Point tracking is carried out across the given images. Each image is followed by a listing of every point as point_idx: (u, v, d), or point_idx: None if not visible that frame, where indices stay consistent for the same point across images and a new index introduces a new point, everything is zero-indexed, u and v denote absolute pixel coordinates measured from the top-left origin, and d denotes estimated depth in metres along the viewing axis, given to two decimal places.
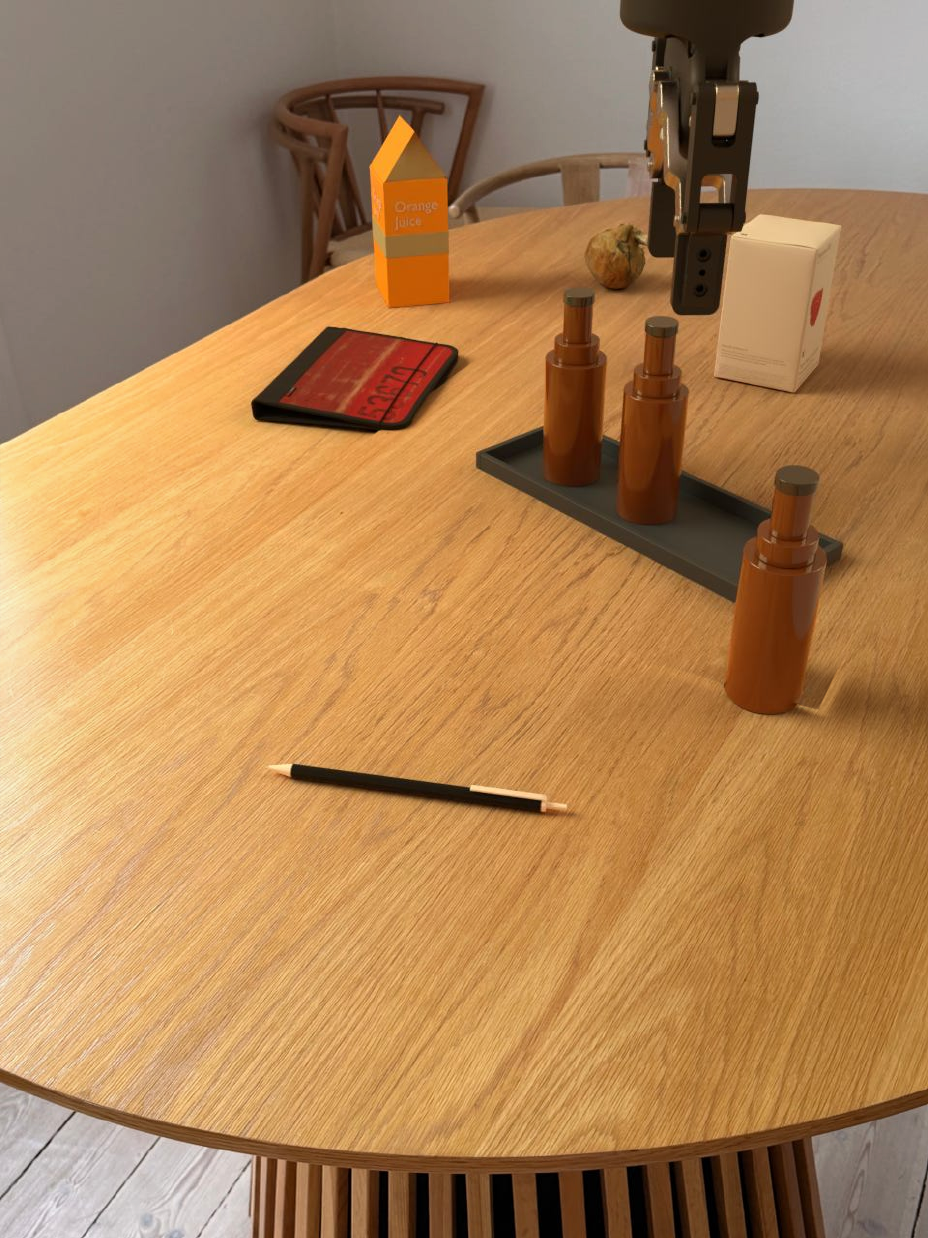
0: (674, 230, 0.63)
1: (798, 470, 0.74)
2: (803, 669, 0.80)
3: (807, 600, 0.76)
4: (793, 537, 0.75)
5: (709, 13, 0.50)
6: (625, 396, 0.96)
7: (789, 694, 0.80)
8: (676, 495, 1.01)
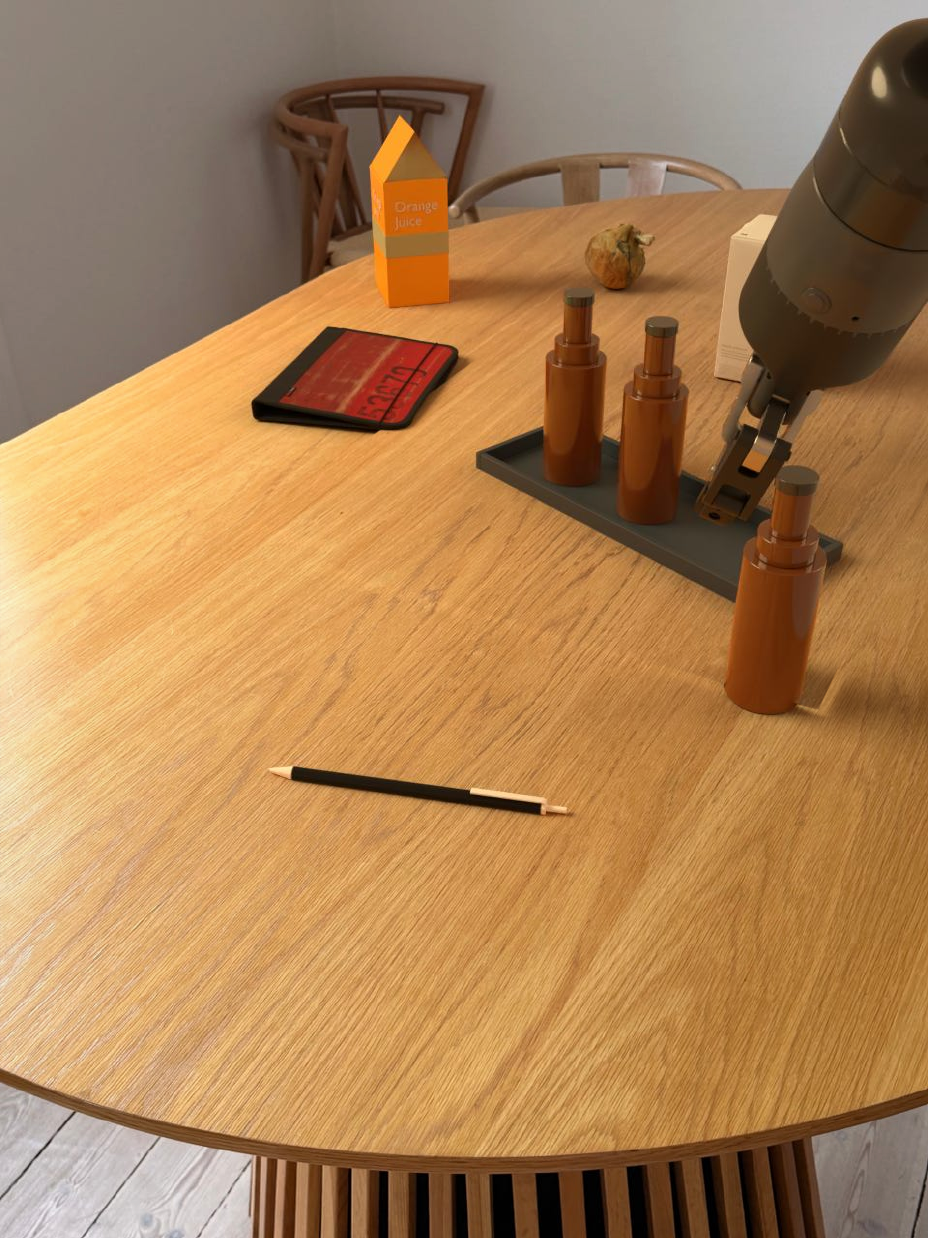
0: None
1: (798, 470, 0.74)
2: (803, 669, 0.80)
3: (807, 600, 0.76)
4: (793, 537, 0.75)
5: (788, 366, 0.55)
6: (625, 396, 0.96)
7: (789, 694, 0.80)
8: (676, 495, 1.01)
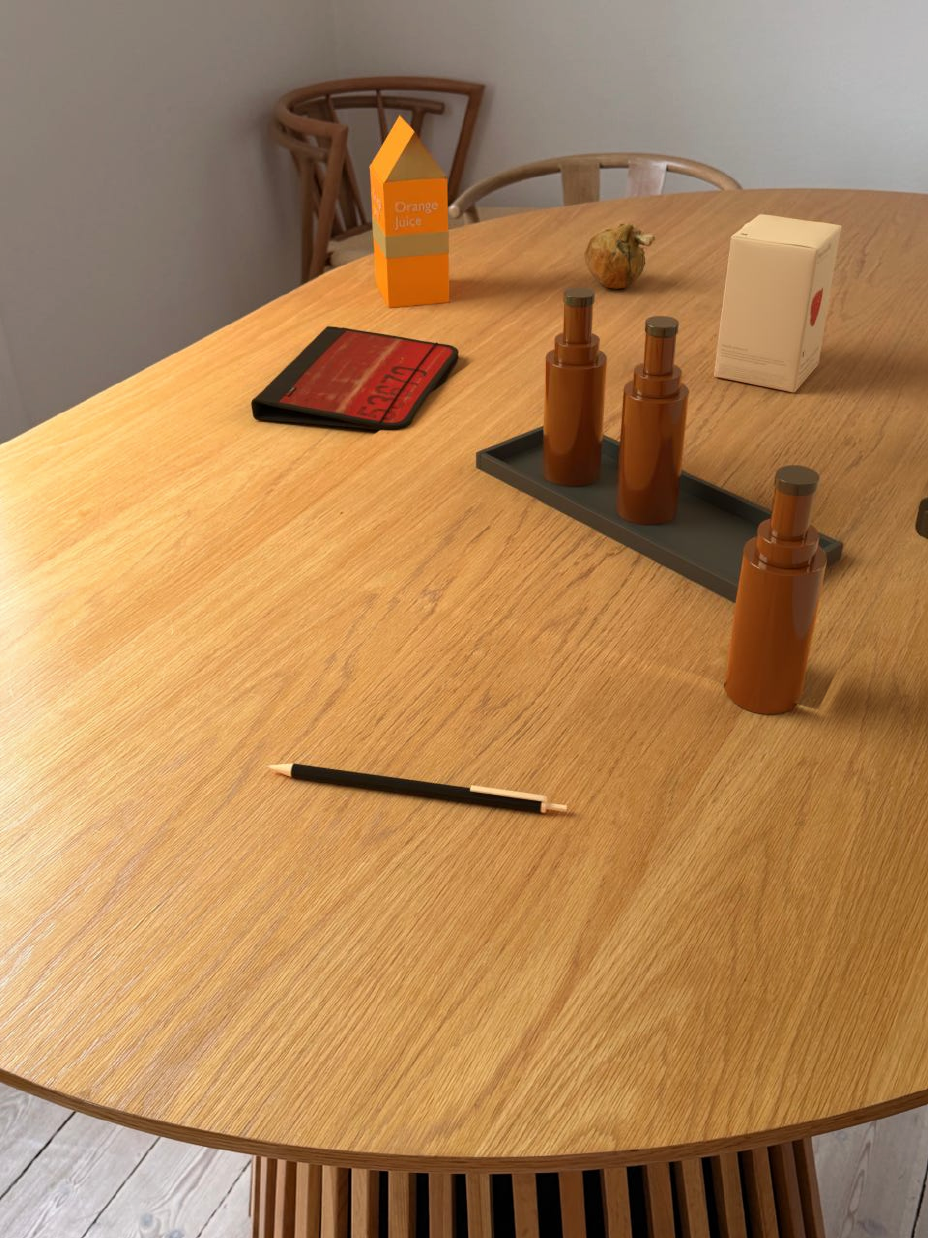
0: None
1: (798, 470, 0.74)
2: (803, 669, 0.80)
3: (807, 600, 0.76)
4: (793, 537, 0.75)
5: None
6: (625, 396, 0.96)
7: (789, 694, 0.80)
8: (676, 495, 1.01)
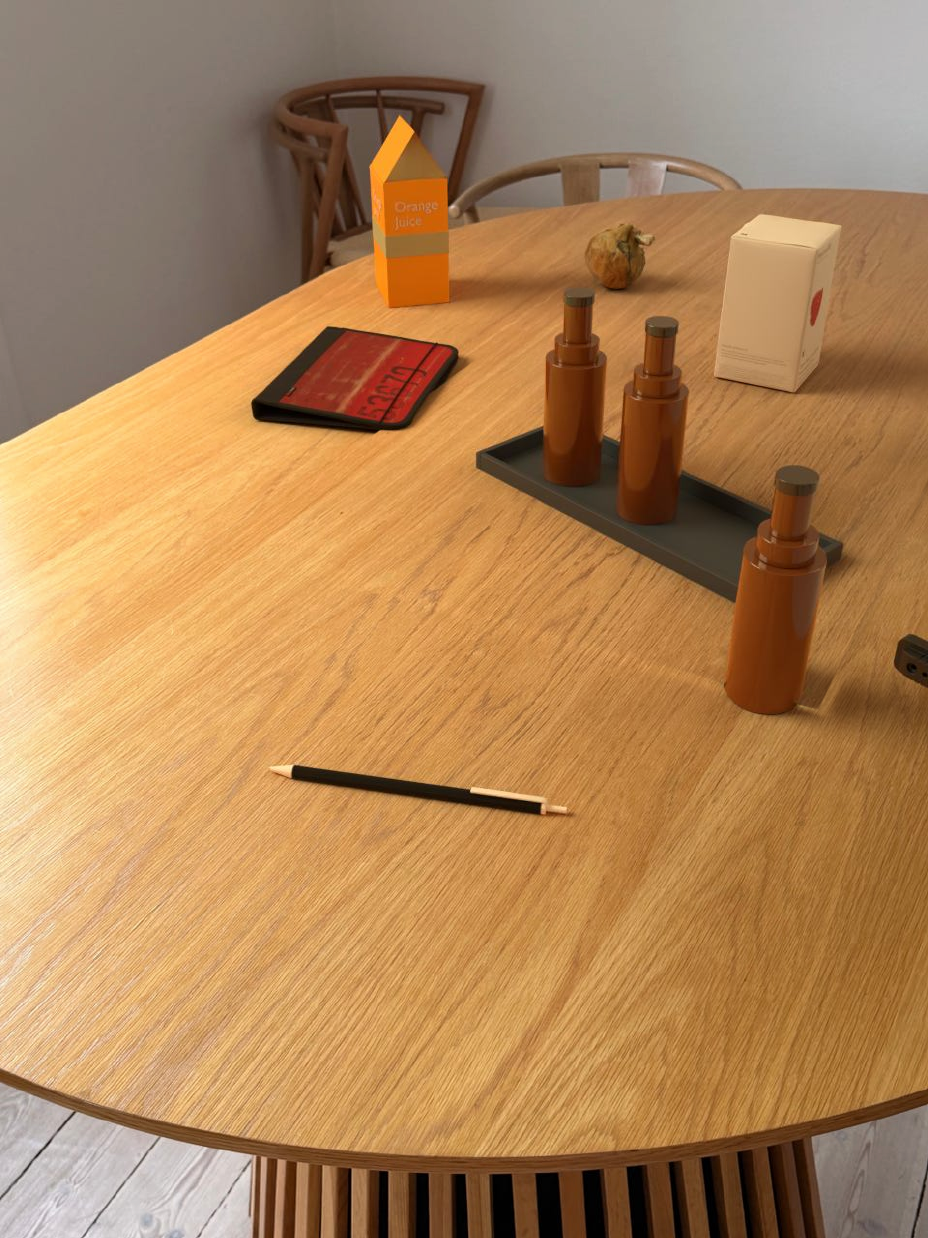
0: None
1: (798, 470, 0.74)
2: (803, 669, 0.80)
3: (807, 600, 0.76)
4: (793, 537, 0.75)
5: None
6: (625, 396, 0.96)
7: (789, 694, 0.80)
8: (676, 495, 1.01)
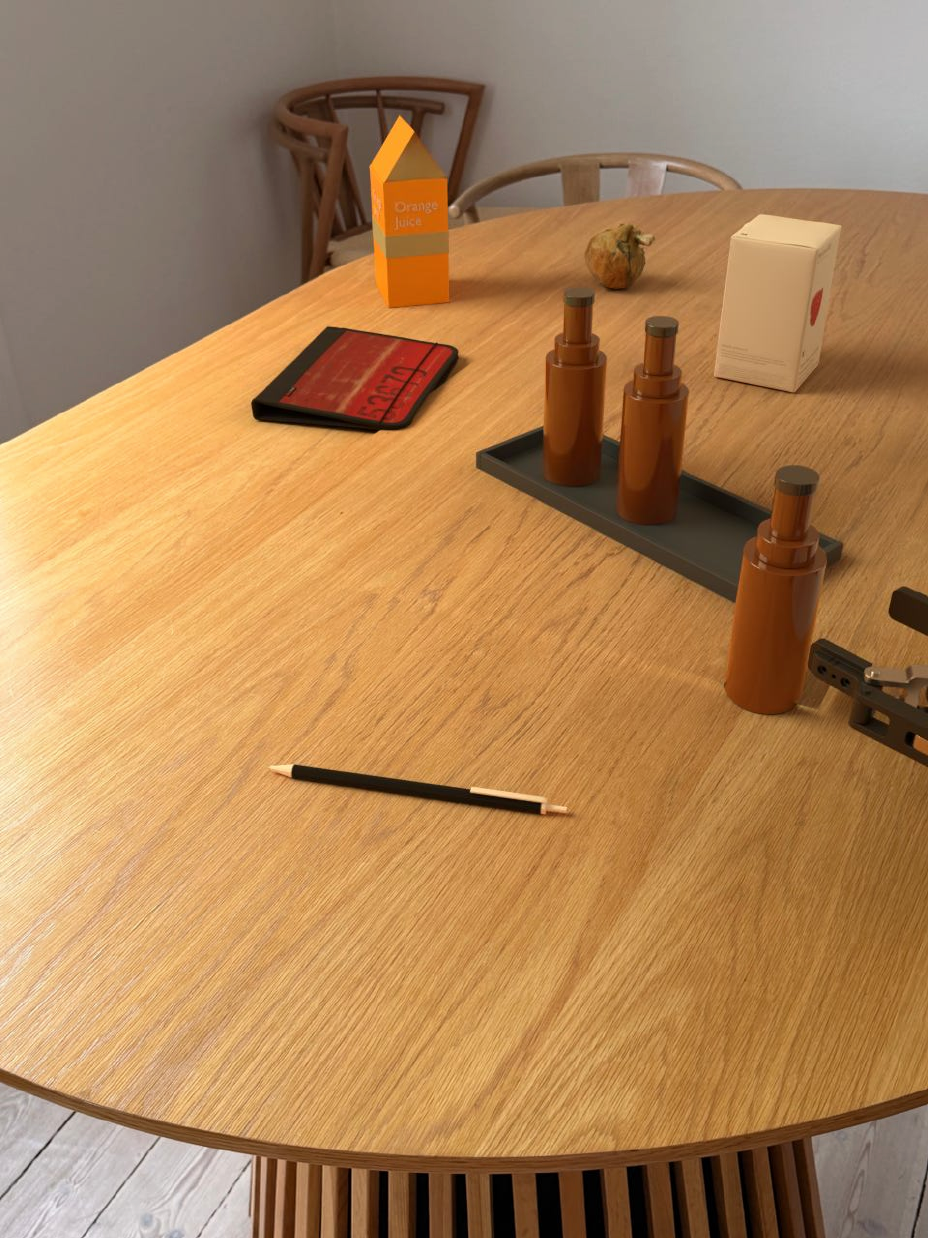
0: (909, 613, 0.76)
1: (798, 470, 0.74)
2: (803, 669, 0.80)
3: (807, 600, 0.76)
4: (793, 537, 0.75)
5: None
6: (625, 396, 0.96)
7: (789, 694, 0.80)
8: (676, 495, 1.01)
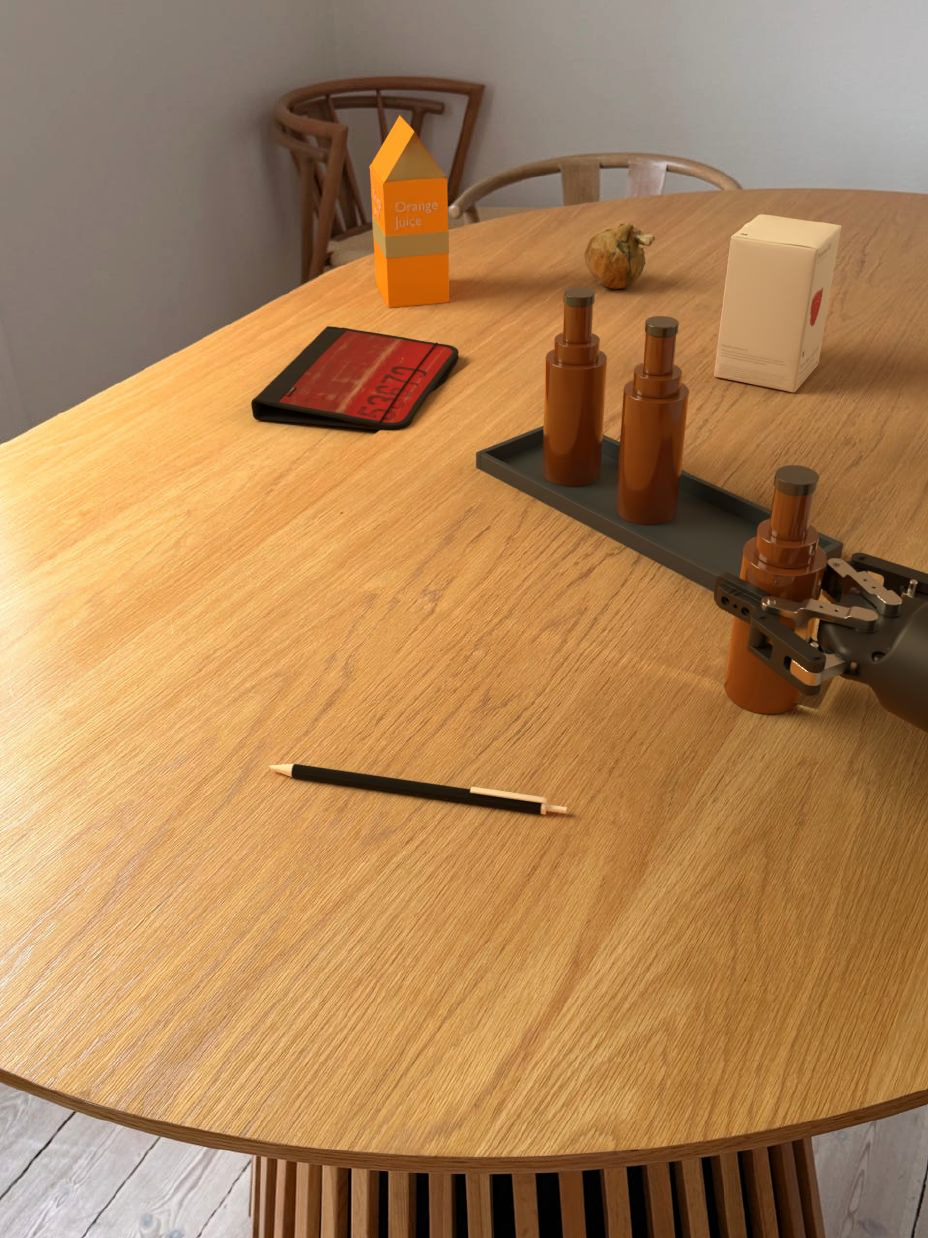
0: None
1: (798, 470, 0.74)
2: None
3: None
4: (793, 537, 0.75)
5: (892, 678, 0.69)
6: (625, 396, 0.96)
7: (789, 694, 0.80)
8: (676, 495, 1.01)
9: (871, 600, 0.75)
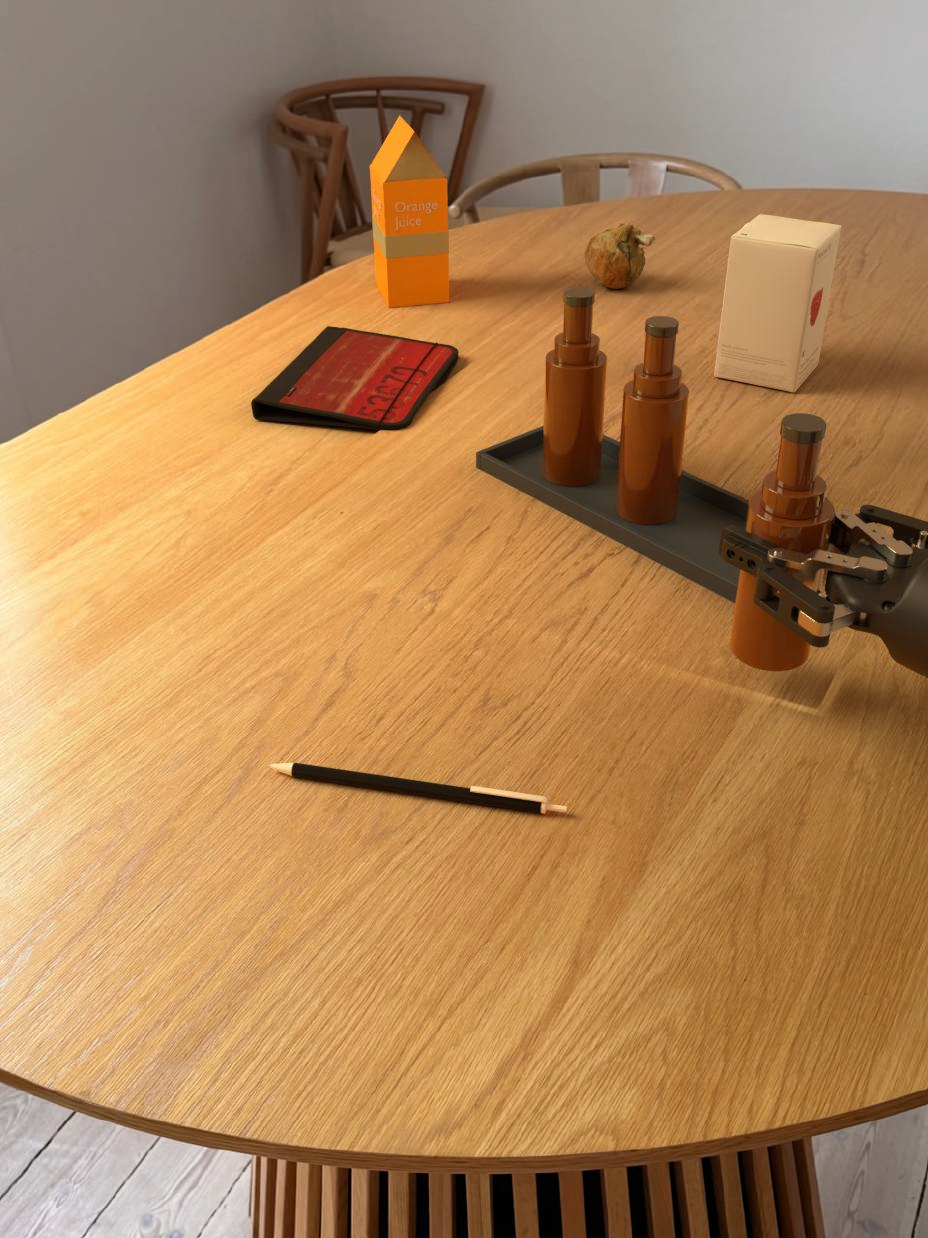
0: None
1: (804, 417, 0.72)
2: None
3: None
4: (800, 487, 0.73)
5: (903, 627, 0.68)
6: (625, 396, 0.96)
7: (796, 650, 0.79)
8: (676, 495, 1.01)
9: (880, 551, 0.73)
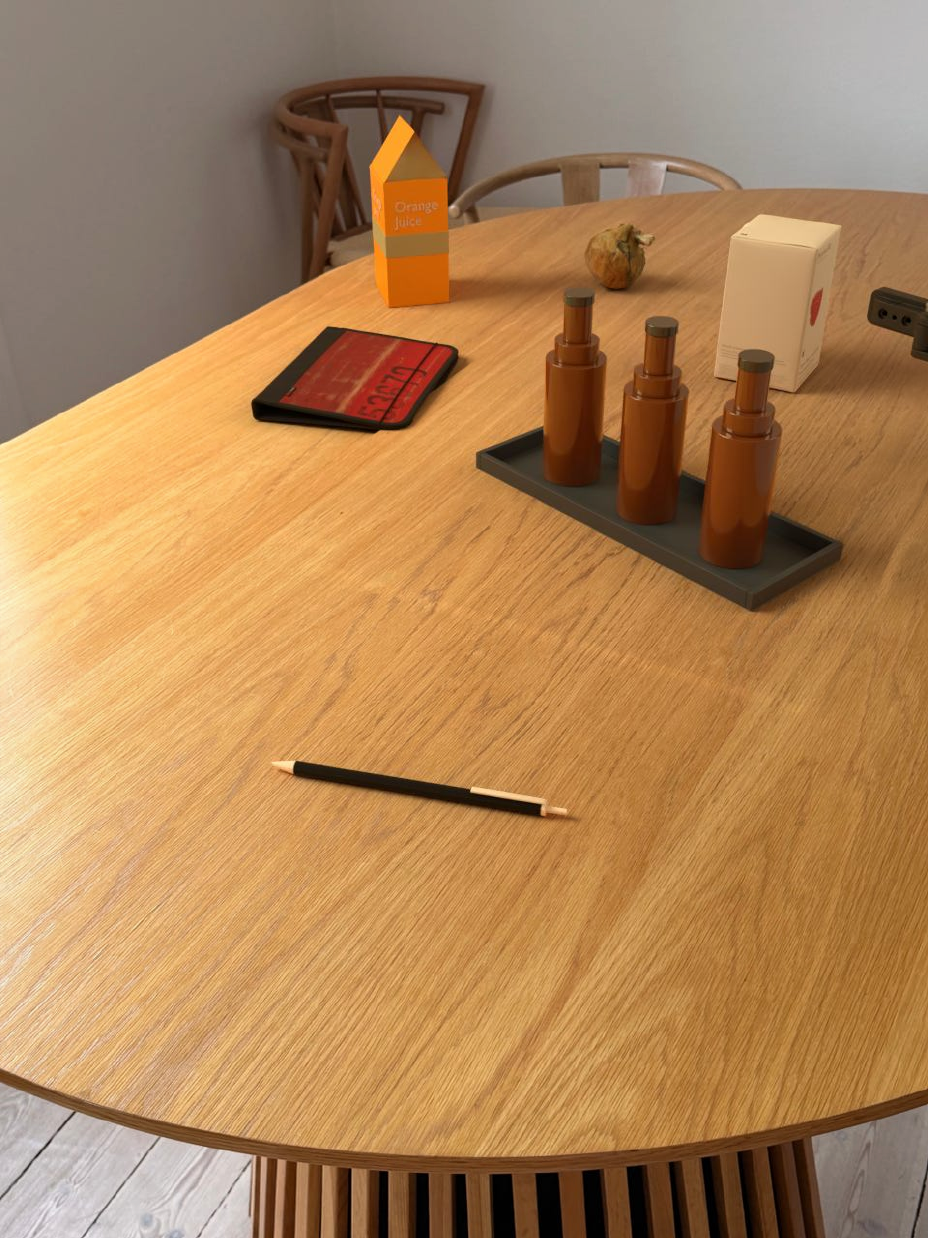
0: None
1: (757, 352, 0.88)
2: (764, 529, 0.94)
3: (766, 464, 0.90)
4: (753, 410, 0.89)
5: None
6: (625, 396, 0.96)
7: (752, 550, 0.94)
8: (676, 495, 1.01)
9: None
